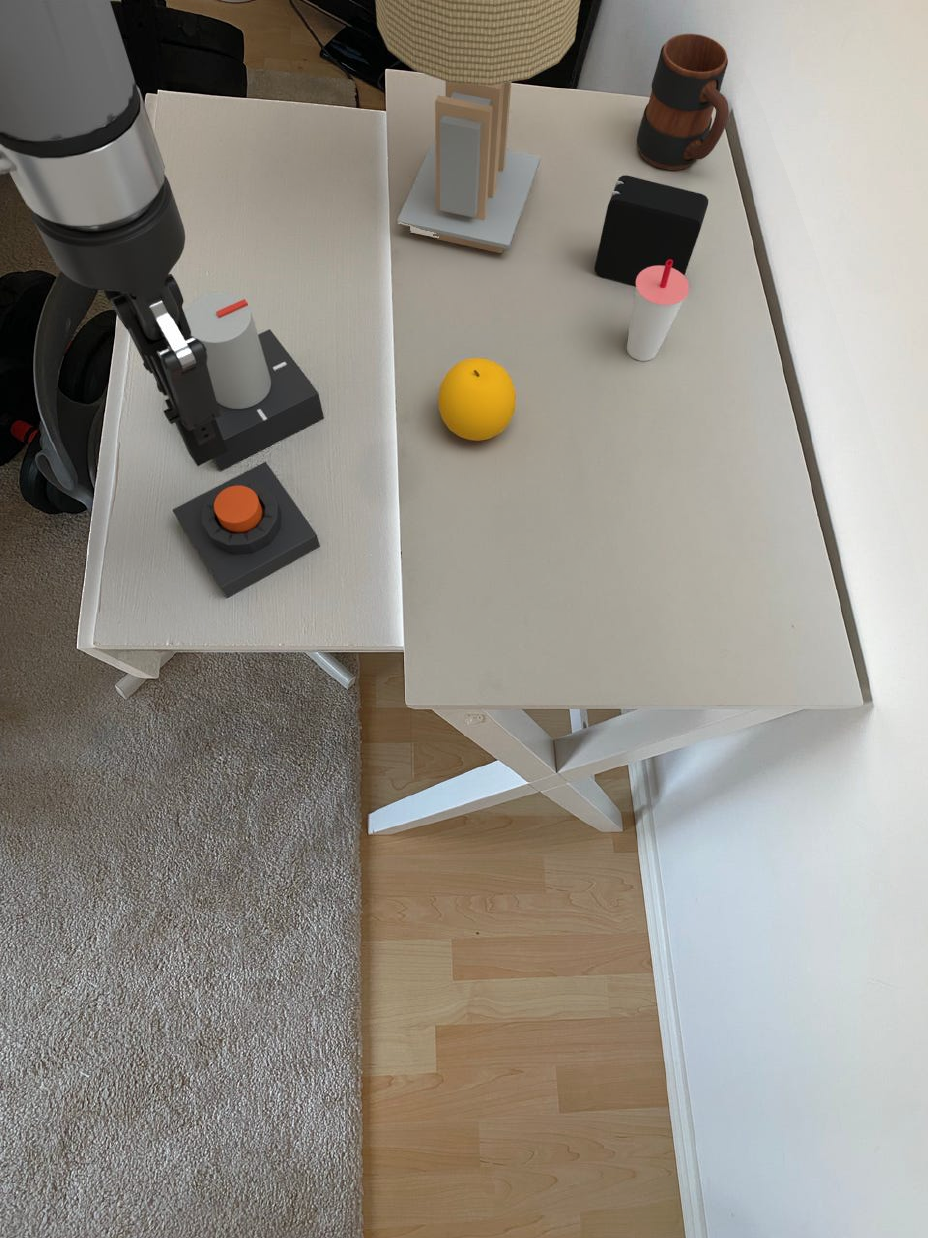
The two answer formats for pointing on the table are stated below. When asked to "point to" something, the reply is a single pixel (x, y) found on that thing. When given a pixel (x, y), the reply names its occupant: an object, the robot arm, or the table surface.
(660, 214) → the electronic device
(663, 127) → the mug
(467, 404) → the yellow orange fruit
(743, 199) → the table surface
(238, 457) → the dial panel
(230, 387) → the timer dial
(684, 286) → the cup
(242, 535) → the button base
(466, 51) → the desk lamp
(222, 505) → the power button
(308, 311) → the table surface
